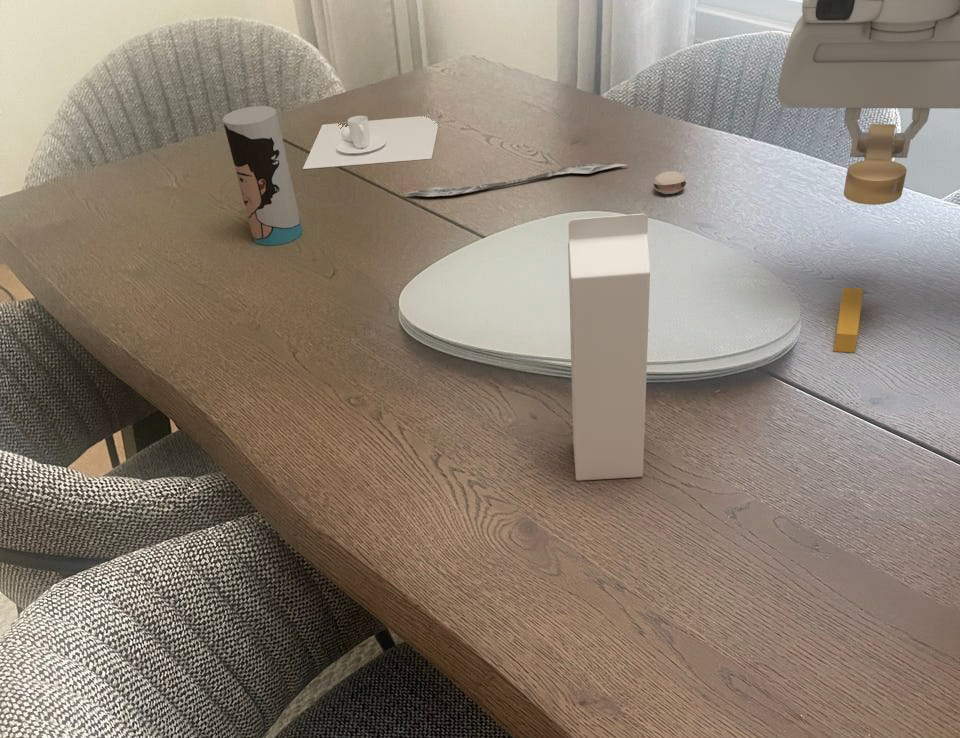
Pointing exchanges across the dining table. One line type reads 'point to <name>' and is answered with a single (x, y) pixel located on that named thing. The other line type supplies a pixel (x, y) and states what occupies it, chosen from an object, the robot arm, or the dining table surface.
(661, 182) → the macaroon
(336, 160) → the teacup and saucer
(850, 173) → the spoon
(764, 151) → the dining table surface
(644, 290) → the milk
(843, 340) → the fry
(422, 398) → the dining table surface
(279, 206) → the white tall cylinder
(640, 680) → the dining table surface
